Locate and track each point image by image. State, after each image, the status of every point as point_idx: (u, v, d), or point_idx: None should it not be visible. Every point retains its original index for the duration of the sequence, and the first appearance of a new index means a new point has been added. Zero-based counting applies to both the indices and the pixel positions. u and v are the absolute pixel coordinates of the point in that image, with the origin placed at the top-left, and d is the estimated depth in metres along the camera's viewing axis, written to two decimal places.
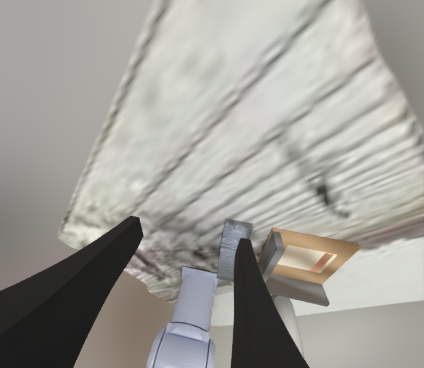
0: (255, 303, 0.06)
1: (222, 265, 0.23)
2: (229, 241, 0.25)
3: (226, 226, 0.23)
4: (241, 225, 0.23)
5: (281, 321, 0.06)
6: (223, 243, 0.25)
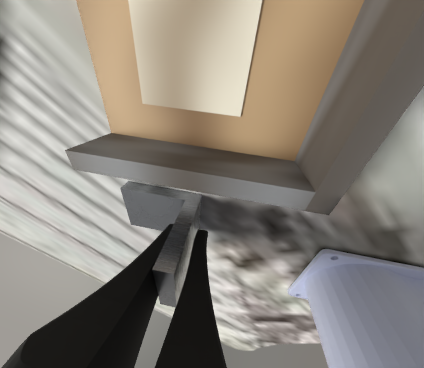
0: (189, 288, 0.07)
1: None
2: (173, 223, 0.13)
3: (137, 224, 0.13)
4: (126, 203, 0.13)
5: (209, 304, 0.06)
6: None
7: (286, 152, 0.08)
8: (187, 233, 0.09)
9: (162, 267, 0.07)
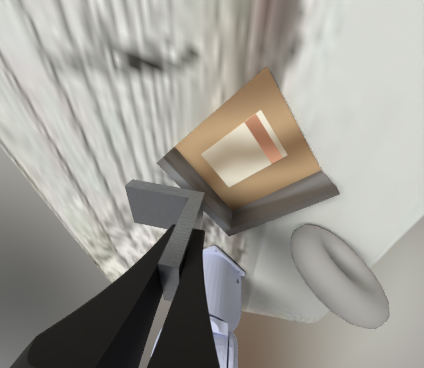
0: (185, 287, 0.07)
1: None
2: (176, 221, 0.13)
3: (140, 221, 0.14)
4: (130, 201, 0.13)
5: (204, 303, 0.06)
6: None
7: (232, 207, 0.20)
8: (191, 230, 0.09)
9: (167, 261, 0.07)
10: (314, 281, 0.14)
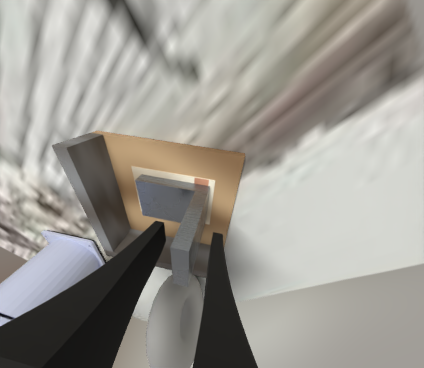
0: (213, 293, 0.07)
1: None
2: (183, 214, 0.14)
3: (149, 214, 0.14)
4: (139, 195, 0.13)
5: (235, 310, 0.06)
6: None
7: (133, 226, 0.18)
8: (198, 219, 0.10)
9: (178, 245, 0.08)
10: (152, 338, 0.15)
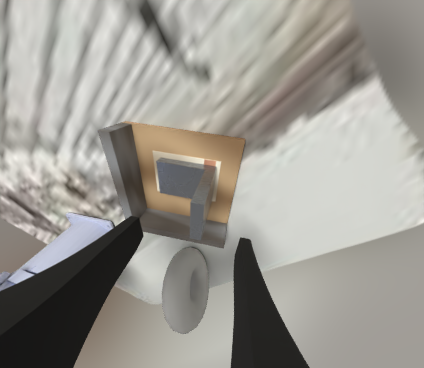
0: (255, 303, 0.06)
1: None
2: (194, 190, 0.17)
3: (165, 192, 0.17)
4: (158, 174, 0.16)
5: (281, 321, 0.06)
6: None
7: (149, 205, 0.21)
8: (209, 187, 0.13)
9: (196, 201, 0.11)
10: (167, 295, 0.18)
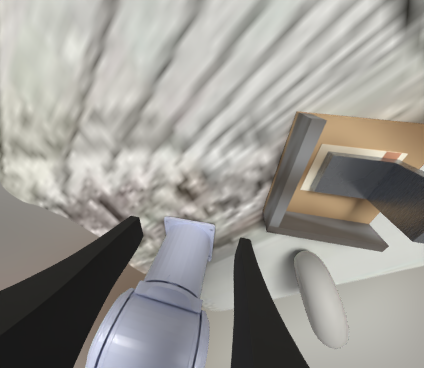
0: (255, 303, 0.06)
1: (400, 220, 0.12)
2: (363, 187, 0.15)
3: (321, 190, 0.16)
4: (323, 170, 0.15)
5: (281, 321, 0.06)
6: (368, 195, 0.15)
7: None
8: None
9: None
10: (326, 305, 0.16)
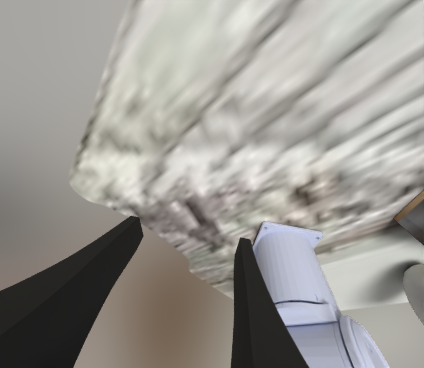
0: (255, 303, 0.06)
1: None
2: None
3: None
4: None
5: (281, 321, 0.06)
6: None
7: None
8: None
9: None
10: None
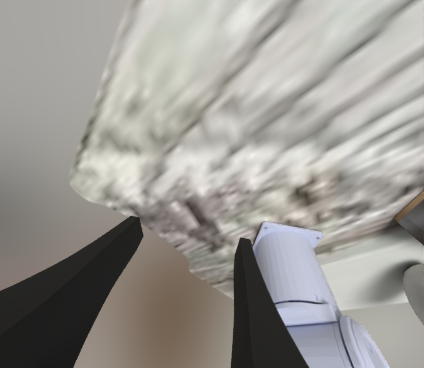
0: (255, 303, 0.06)
1: None
2: None
3: None
4: None
5: (281, 321, 0.06)
6: None
7: None
8: None
9: None
10: None
